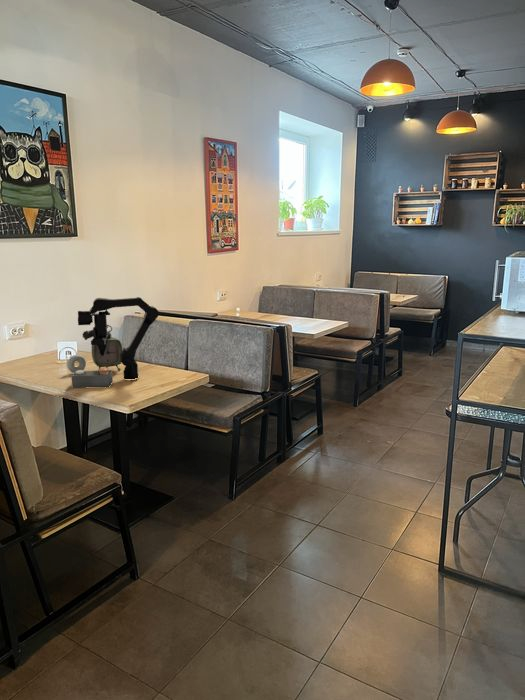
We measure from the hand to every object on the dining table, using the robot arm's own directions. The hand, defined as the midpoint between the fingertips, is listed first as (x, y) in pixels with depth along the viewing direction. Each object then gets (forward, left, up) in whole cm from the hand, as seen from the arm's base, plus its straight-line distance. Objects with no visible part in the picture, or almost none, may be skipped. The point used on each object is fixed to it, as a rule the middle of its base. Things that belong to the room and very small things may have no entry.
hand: (102, 355), depth 251 cm
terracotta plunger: (-2, +6, -11) cm, 13 cm away
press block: (+4, +6, -13) cm, 15 cm away
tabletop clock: (+2, -20, -13) cm, 24 cm away
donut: (+17, -17, -13) cm, 27 cm away
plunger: (+9, +6, -12) cm, 16 cm away
